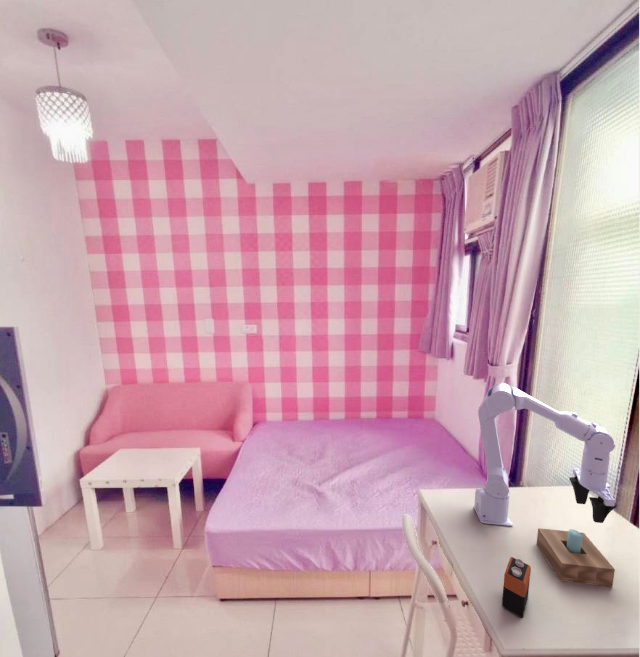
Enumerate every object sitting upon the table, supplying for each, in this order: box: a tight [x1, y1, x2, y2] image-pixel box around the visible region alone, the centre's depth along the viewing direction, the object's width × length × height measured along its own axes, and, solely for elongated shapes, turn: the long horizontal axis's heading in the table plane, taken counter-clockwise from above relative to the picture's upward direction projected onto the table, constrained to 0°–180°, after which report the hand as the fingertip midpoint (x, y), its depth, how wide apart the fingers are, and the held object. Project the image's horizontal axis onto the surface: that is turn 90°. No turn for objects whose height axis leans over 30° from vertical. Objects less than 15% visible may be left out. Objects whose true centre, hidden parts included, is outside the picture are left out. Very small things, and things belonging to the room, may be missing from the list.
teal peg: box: [566, 528, 583, 554], centre depth 87 cm, size 3×3×8 cm
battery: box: [501, 556, 532, 619], centre depth 77 cm, size 4×7×10 cm, turn 138°
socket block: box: [536, 527, 616, 588], centre depth 88 cm, size 12×12×5 cm
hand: (589, 512), depth 93 cm, fingers open, 7 cm apart
